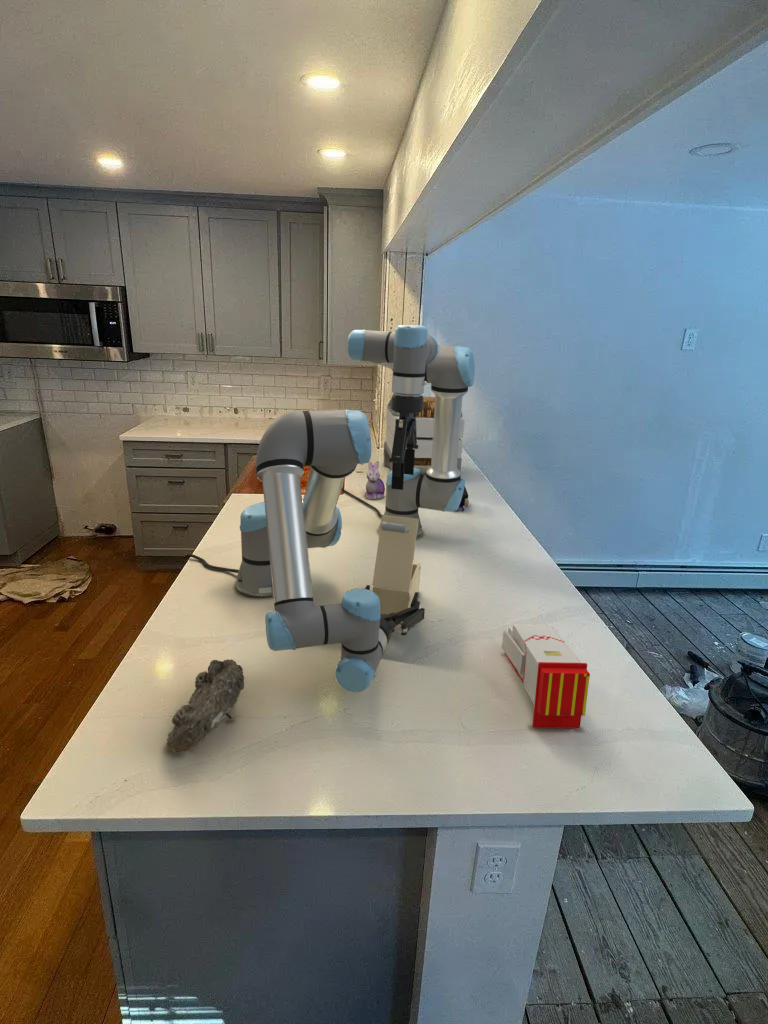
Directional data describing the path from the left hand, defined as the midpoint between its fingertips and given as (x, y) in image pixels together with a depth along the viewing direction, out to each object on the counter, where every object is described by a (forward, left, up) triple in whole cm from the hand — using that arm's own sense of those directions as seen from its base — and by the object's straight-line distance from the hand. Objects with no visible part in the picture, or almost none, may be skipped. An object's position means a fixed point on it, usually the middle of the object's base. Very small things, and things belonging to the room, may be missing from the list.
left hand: (392, 593), depth 144 cm
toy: (+36, -19, -7) cm, 41 cm away
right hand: (0, +6, +28) cm, 29 cm away
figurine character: (+8, +93, -7) cm, 93 cm away
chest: (0, +6, -7) cm, 9 cm away
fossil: (-25, -47, -7) cm, 53 cm away
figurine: (-28, +94, -7) cm, 98 cm away
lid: (0, +2, +11) cm, 11 cm away
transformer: (-16, +136, -7) cm, 137 cm away
